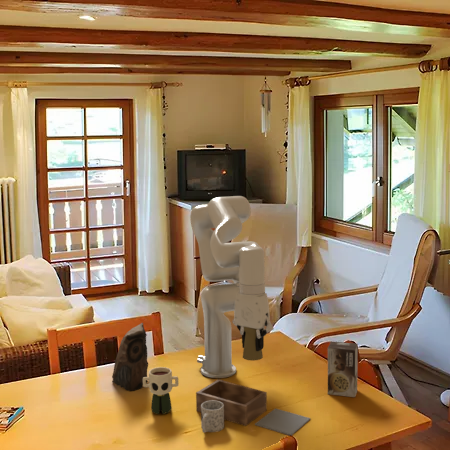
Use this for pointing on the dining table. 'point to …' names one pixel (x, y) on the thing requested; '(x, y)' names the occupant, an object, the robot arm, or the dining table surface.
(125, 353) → the owl
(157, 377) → the character mug
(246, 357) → the cork
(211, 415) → the mug
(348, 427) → the dining table surface
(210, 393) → the walnut box
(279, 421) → the grey mat
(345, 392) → the coffee box
